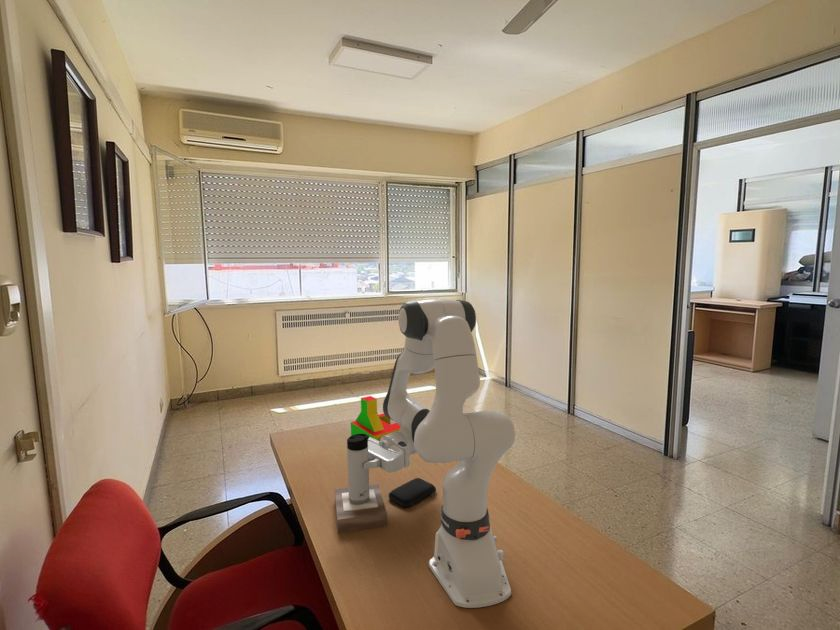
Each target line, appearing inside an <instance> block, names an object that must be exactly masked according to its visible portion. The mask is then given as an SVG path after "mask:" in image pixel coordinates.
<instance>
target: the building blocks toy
mask: <svg viewBox="0 0 840 630" xmlns="http://www.w3.org/2000/svg"><path fill="white" fill-rule="evenodd" d="M360 408H361V409H360V412H359V414H358V415H357V417H356V419H355V420H353V421H351V422H350V436H352V435H355V434H366V435H369V437H371V438H374V439H376V440H378V441H380V439H381V437H382V436H385V435H387V434H390V433H393V432H396V431H399V430H400V427H401V426H400V425H399V424H397V423H396V422H395V423H391V419H390V418H388V417H387V416H385V414H384V413H380V414H379V413H378V399H377V398H376V397H374V396H372V395H367V396H365V397H361V398H360Z"/></svg>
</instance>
